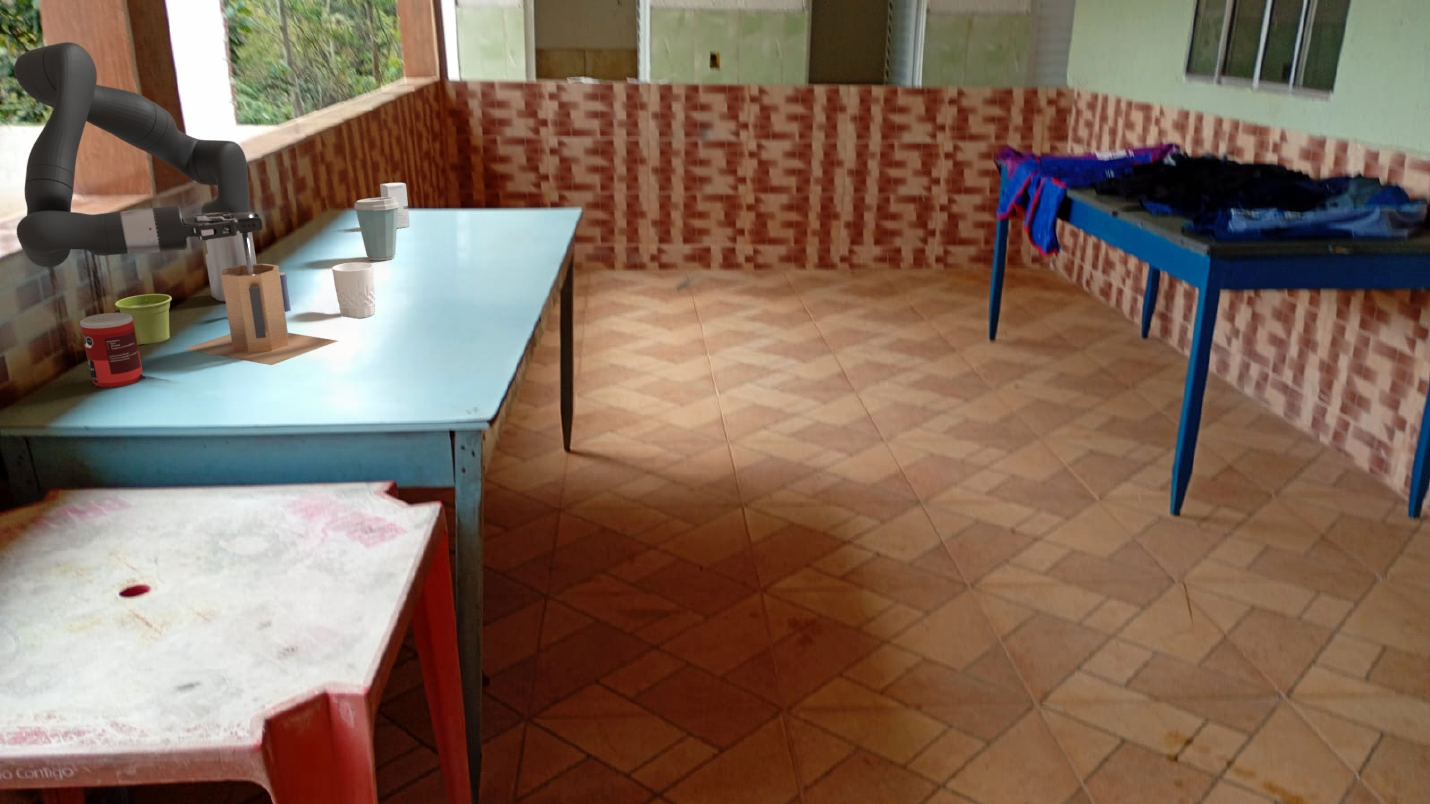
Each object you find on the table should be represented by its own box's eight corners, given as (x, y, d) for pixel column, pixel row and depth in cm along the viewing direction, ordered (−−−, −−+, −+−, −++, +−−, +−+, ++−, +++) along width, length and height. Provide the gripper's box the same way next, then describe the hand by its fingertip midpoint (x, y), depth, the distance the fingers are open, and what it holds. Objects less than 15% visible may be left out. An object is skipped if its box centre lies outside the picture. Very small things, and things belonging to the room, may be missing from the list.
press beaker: (219, 349, 206) (207, 273, 201) (262, 335, 214) (251, 262, 209) (263, 356, 201) (251, 279, 196) (305, 342, 210) (295, 267, 205)
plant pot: (143, 355, 207) (134, 309, 204) (113, 347, 211) (104, 302, 208) (189, 342, 214) (182, 297, 211) (159, 335, 219) (151, 291, 216)
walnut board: (183, 355, 206) (182, 348, 206) (253, 332, 220) (252, 326, 219) (272, 371, 197) (271, 364, 197) (339, 346, 211) (338, 340, 210)
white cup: (366, 320, 228) (360, 271, 224) (330, 318, 229) (324, 270, 226) (385, 310, 235) (379, 263, 232) (350, 308, 237) (344, 261, 233)
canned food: (103, 374, 196) (91, 313, 193) (151, 373, 197) (139, 311, 193) (83, 389, 189) (70, 325, 185) (133, 387, 190) (121, 323, 186)
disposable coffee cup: (350, 261, 279) (343, 199, 274) (378, 252, 288) (372, 192, 283) (386, 264, 275) (379, 202, 270) (413, 255, 285) (407, 195, 279)
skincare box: (391, 229, 316) (386, 185, 312) (383, 227, 319) (378, 184, 315) (411, 226, 320) (406, 183, 316) (402, 224, 323) (398, 181, 319)
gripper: (151, 215, 187) (262, 206, 194) (148, 202, 199) (253, 194, 206) (159, 259, 190) (268, 249, 197) (156, 244, 202) (259, 235, 209)
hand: (259, 221), depth 202 cm, fingers closed on plunger, 4 cm apart
